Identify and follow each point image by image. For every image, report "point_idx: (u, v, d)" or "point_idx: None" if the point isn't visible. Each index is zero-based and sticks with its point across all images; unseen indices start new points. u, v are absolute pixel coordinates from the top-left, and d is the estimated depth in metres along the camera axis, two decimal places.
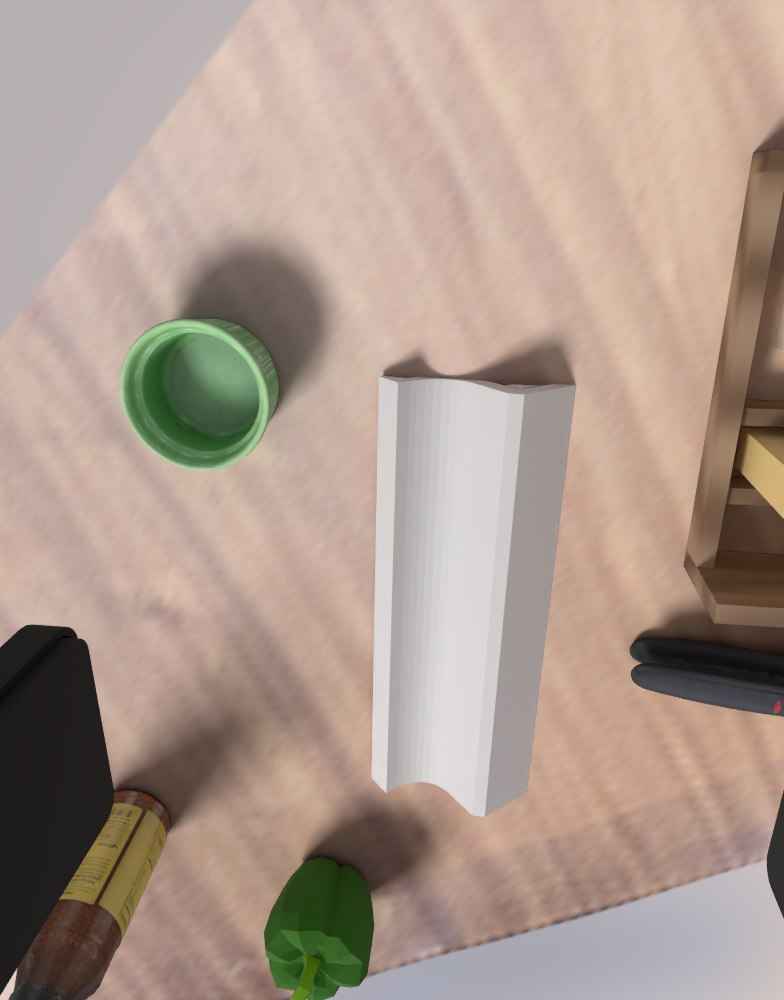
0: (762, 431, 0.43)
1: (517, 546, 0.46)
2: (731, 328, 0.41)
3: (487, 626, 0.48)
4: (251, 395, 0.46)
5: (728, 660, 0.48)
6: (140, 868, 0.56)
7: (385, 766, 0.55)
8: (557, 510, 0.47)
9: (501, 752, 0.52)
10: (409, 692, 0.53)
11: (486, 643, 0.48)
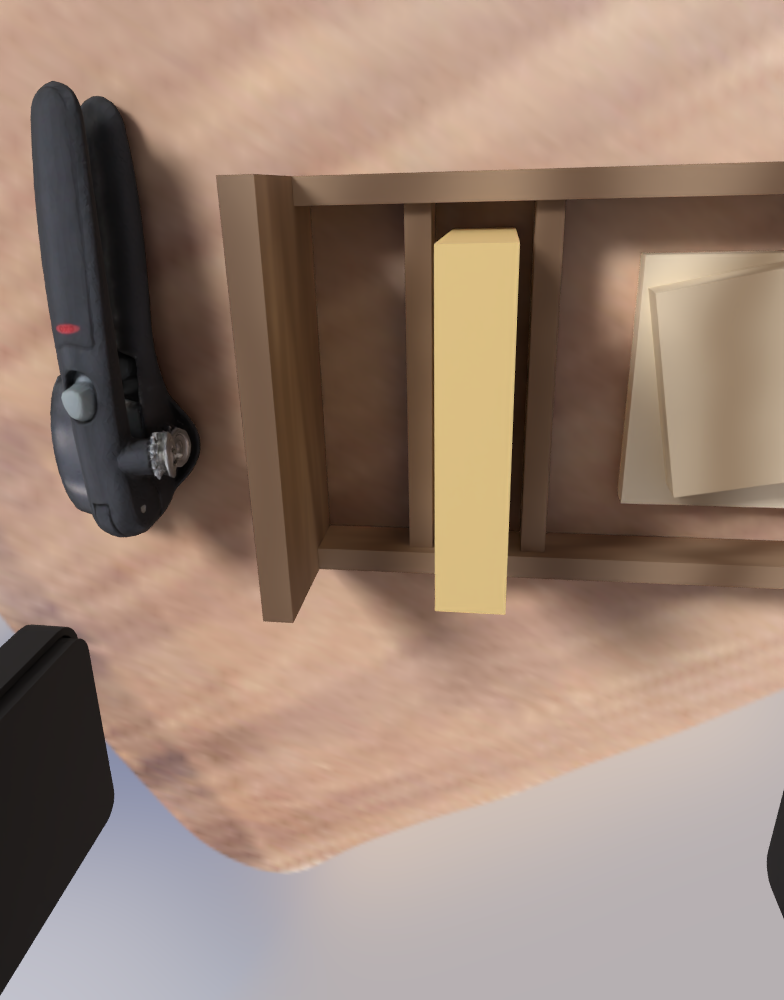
0: None
1: None
2: None
3: None
4: None
5: (121, 257, 0.30)
6: None
7: None
8: None
9: None
10: None
11: None
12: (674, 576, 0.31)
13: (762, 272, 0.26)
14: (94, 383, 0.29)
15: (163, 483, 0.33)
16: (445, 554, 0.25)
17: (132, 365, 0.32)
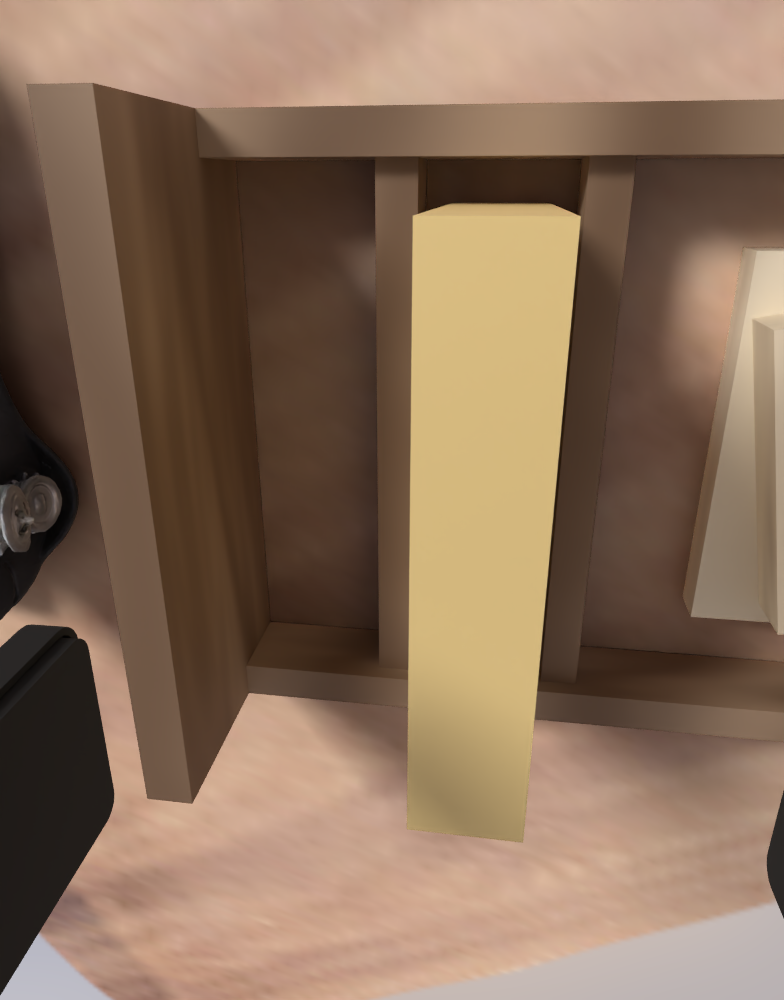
0: None
1: None
2: None
3: None
4: None
5: None
6: None
7: None
8: None
9: None
10: None
11: None
12: (768, 730, 0.21)
13: None
14: None
15: (20, 555, 0.22)
16: (424, 747, 0.15)
17: None
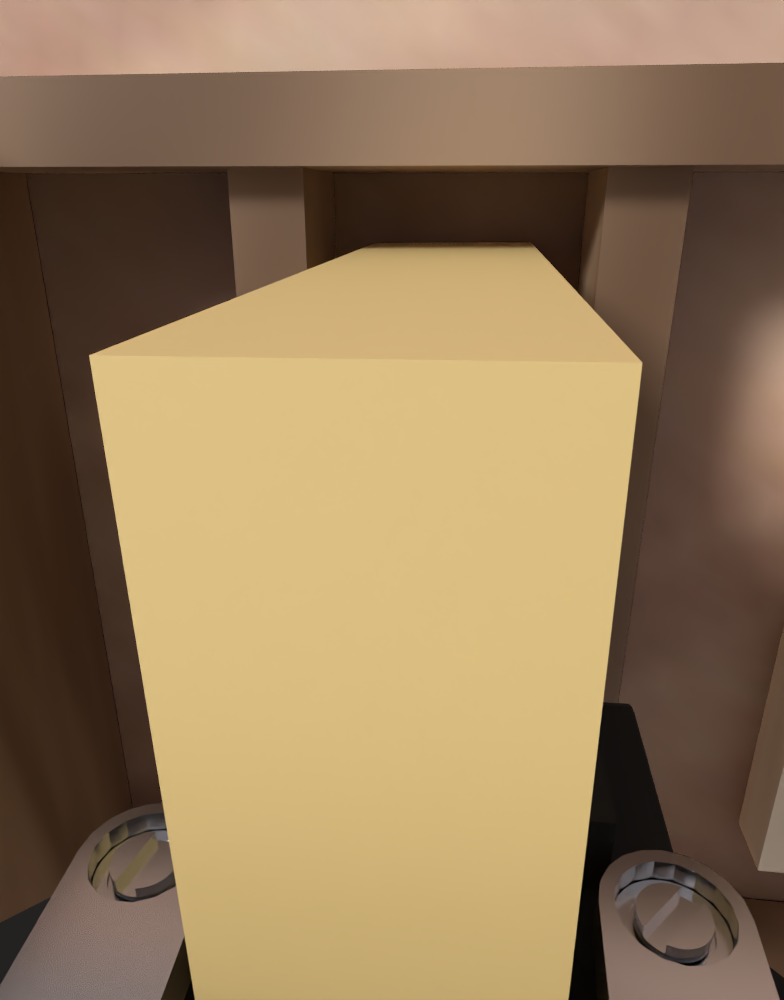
0: None
1: None
2: None
3: None
4: None
5: None
6: None
7: None
8: None
9: None
10: None
11: None
12: None
13: None
14: None
15: None
16: None
17: None
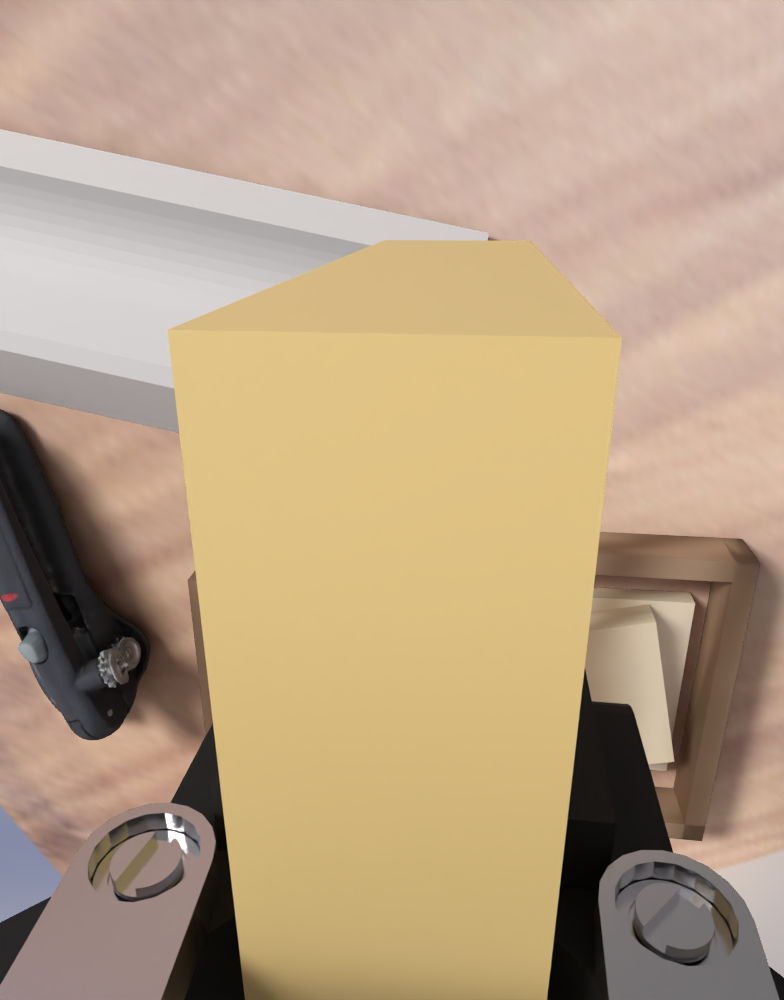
0: None
1: None
2: None
3: (95, 348, 0.32)
4: None
5: (41, 523, 0.37)
6: None
7: None
8: None
9: None
10: None
11: (67, 342, 0.32)
12: None
13: (601, 628, 0.34)
14: (40, 632, 0.35)
15: (124, 684, 0.39)
16: None
17: (75, 598, 0.39)
